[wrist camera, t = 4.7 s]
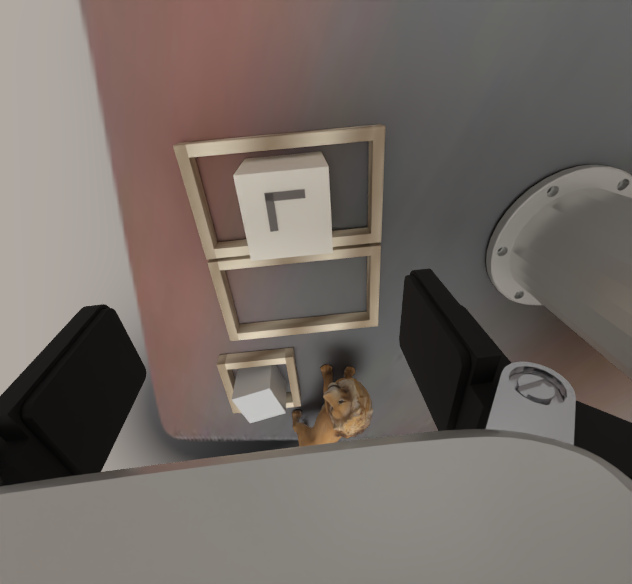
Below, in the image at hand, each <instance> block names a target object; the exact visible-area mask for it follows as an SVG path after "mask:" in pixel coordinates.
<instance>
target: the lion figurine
mask: <svg viewBox="0 0 632 584" xmlns="http://www.w3.org/2000/svg"><path fill="white" fill-rule="evenodd" d="M321 371H322V376H323V379H324V388H323V392H324V395H323V398H324V399H325V403H324V404H323V406H322V409H321V411H320V412H319V414H318V416H317V419H316V422H315V425H314V427H313V428H311V427H309V426H307V425H306V424H305V423H301V422H299V419H300V418H301V416H302V412H301V411H300V410H295V411H293V413H292V418H293V429H294V431H295V432H296V433H297V435H298V440H299V445H300V447H302V446H310V445H319V444H327V443H335V442H337V441H338V440H339V439H340V438H341V437H344V438H346V439H347V438H349V437H352V436H354V437H356V435H358V434H361V433H362V432H364V430H365V429H366V428H367V427H368V426H369V424H370V421H371V417H372V413H373V408H372V401H371V398H370V395H369V393H368V392H367V390H366V389H365V388H364V386H363V385H362V384H361V383H360V382H358V381H357V380H356V379H354V378H352V376H353V375H354V374H355V369H354V368H353V367H346V368H345V370H344V378H342V379H339V380H337V381H336V382H335V383H333V381H332V380H333V373H332V367H331V366H330V365H328V364H327V365H324V366H321Z"/></svg>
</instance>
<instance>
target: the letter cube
mask: <svg viewBox="0 0 632 584" xmlns="http://www.w3.org/2000/svg"><path fill="white" fill-rule="evenodd" d="M233 177H234V182H235V186H236V191H237V196H238V201H239V205H240V210H241V215H242V220H243V224H244V229H245V234H246V239H247V243H248V248H249V253H250V258H251V261H256V260H266V259H277V258H287V257H297V256H307V255H317V254H327V253H333V241H332V222H331V203H330V184H329V166H328V164H327V162H326V160H325V158H324V156H323V154H322V152H321V151H320V152H309V153H299V154H288V155H278V156H267V157H257V158H246V159H244V161H243V162H242V163H241V165H240V166H239V168H238V169H237V171H236V172H235V174H234V175H233Z"/></svg>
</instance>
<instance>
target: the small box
mask: <svg viewBox="0 0 632 584" xmlns="http://www.w3.org/2000/svg"><path fill="white" fill-rule="evenodd" d="M277 364H286V365H287V371H288V377H289V382H290V388H291V392H290V393H286V408H289V407H298V406H301V395H300V389H299V382H298V376H297V369H296V363H295V356H294V350H293V347H292V348H282V349H272V350H263V351H253V352H243V353H233V354H224V355H219V358H218V362H217V367H218V370H219V373H220V376H221V379H222V382H223V385H224V388H225V390H226V393H227V396H228V399H229V402H230V405H231V408H232V411H233V413H242V412H241V411H240V410H239V409H238V407H237V406H236V405H235V404H234V402H233V401H232V395H233V390H234V385H235V378H234V374H233V371H232V369H239V368H248V367H258V366H268V365H277Z"/></svg>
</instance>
